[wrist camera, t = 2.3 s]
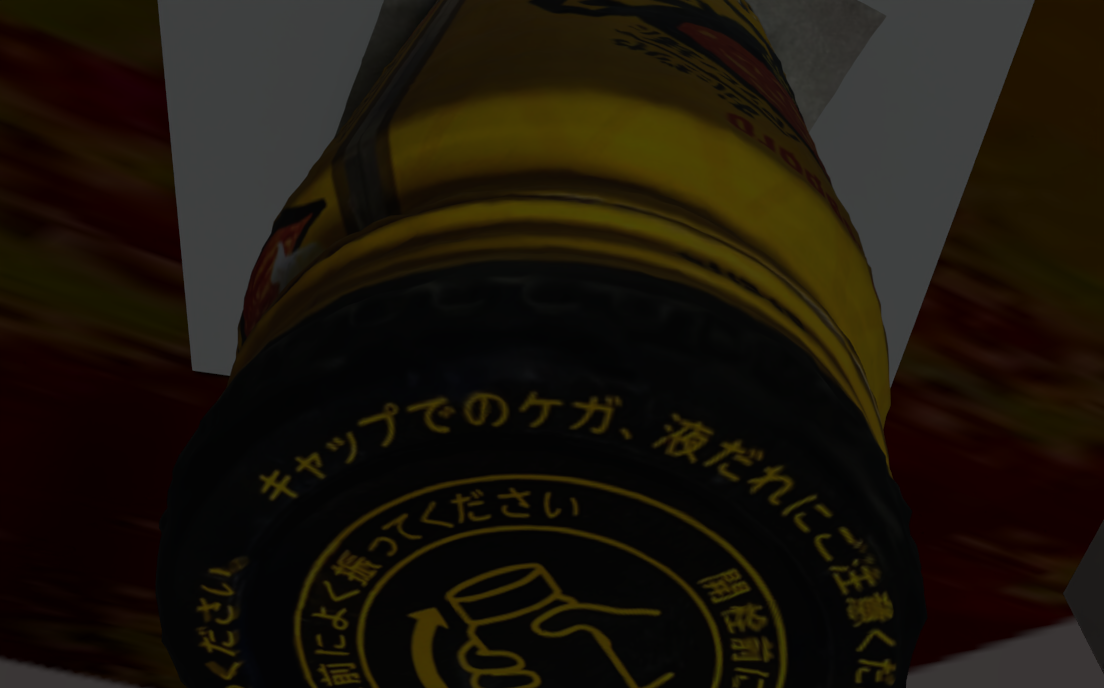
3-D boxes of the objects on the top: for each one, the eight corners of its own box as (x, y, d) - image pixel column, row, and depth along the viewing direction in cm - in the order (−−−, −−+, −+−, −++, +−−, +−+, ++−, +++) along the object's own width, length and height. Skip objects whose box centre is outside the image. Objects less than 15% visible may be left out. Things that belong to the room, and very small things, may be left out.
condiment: (884, 11, 15) (1362, 535, 5) (635, 399, 20) (633, 1103, 9) (461, -214, 14) (13, -103, 4) (294, 252, 18) (-128, 875, 8)
